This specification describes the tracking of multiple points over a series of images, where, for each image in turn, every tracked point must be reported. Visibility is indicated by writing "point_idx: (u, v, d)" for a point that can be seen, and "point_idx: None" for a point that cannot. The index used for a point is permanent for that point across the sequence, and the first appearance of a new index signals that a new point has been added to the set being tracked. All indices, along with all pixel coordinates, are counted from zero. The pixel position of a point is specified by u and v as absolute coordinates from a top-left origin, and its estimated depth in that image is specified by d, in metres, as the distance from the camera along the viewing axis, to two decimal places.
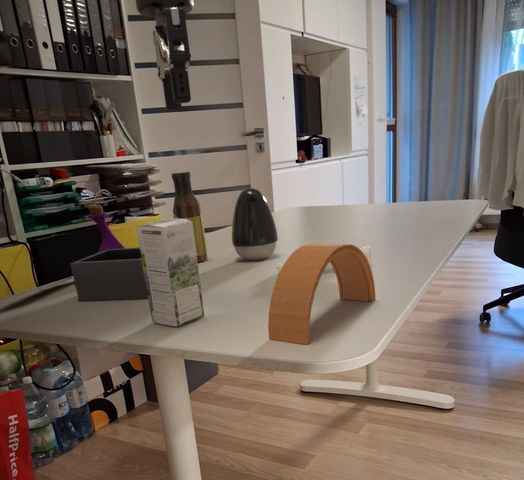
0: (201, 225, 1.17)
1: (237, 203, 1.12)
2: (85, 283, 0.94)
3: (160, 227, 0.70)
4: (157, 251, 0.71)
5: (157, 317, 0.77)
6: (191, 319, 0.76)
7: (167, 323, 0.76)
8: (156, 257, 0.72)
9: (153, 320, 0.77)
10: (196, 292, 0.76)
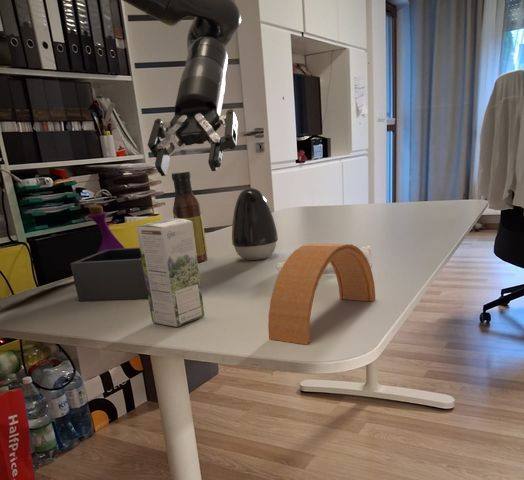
0: (201, 225, 1.17)
1: (237, 203, 1.12)
2: (85, 283, 0.94)
3: (160, 227, 0.70)
4: (157, 251, 0.71)
5: (157, 317, 0.77)
6: (191, 319, 0.76)
7: (167, 323, 0.76)
8: (156, 257, 0.72)
9: (153, 320, 0.77)
10: (196, 292, 0.76)
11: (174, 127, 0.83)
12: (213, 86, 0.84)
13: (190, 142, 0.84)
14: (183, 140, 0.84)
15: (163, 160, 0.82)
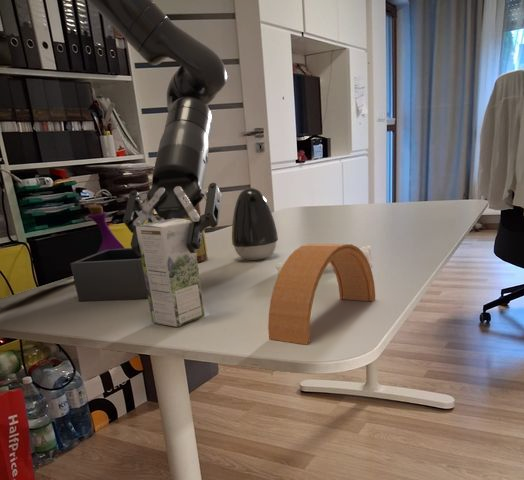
0: None
1: (237, 203, 1.12)
2: (85, 283, 0.94)
3: (160, 227, 0.70)
4: (157, 251, 0.71)
5: (157, 317, 0.77)
6: (191, 319, 0.76)
7: (167, 323, 0.76)
8: (155, 257, 0.72)
9: (153, 320, 0.77)
10: (196, 292, 0.76)
11: (151, 201, 0.75)
12: (194, 155, 0.76)
13: (169, 216, 0.76)
14: (161, 214, 0.76)
15: None
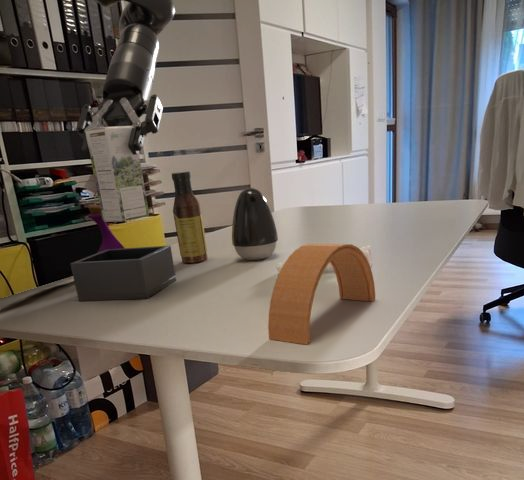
0: (201, 225, 1.17)
1: (237, 203, 1.12)
2: (85, 283, 0.94)
3: (104, 128, 0.80)
4: (103, 151, 0.82)
5: (106, 215, 0.87)
6: (136, 216, 0.87)
7: (114, 219, 0.86)
8: (102, 157, 0.82)
9: (103, 219, 0.88)
10: (140, 192, 0.86)
11: (100, 111, 0.85)
12: (139, 71, 0.86)
13: None
14: (109, 124, 0.86)
15: None
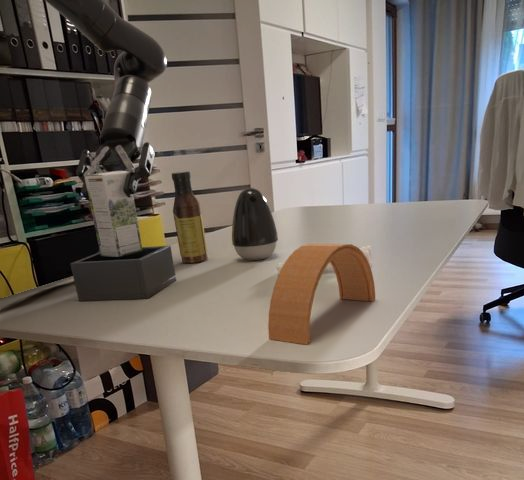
0: (201, 225, 1.17)
1: (237, 203, 1.12)
2: (85, 283, 0.94)
3: (101, 175, 0.89)
4: (100, 195, 0.91)
5: (103, 251, 0.96)
6: (130, 252, 0.96)
7: (111, 254, 0.95)
8: (100, 200, 0.91)
9: (101, 253, 0.97)
10: (134, 230, 0.95)
11: (98, 157, 0.94)
12: (133, 120, 0.95)
13: (113, 170, 0.95)
14: (106, 168, 0.95)
15: None
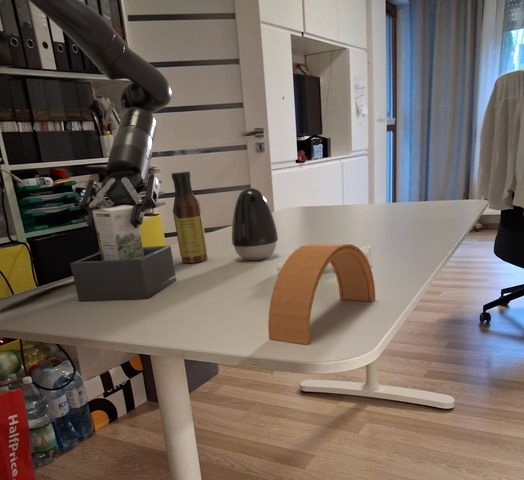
0: (201, 225, 1.17)
1: (237, 203, 1.12)
2: (85, 283, 0.94)
3: (109, 211, 0.91)
4: (108, 230, 0.93)
5: None
6: None
7: None
8: (107, 234, 0.94)
9: None
10: None
11: (104, 188, 0.96)
12: (138, 153, 0.97)
13: (118, 201, 0.97)
14: (112, 199, 0.97)
15: (93, 218, 0.95)
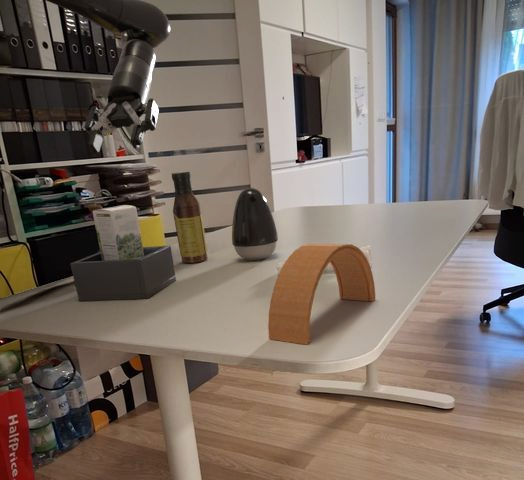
0: (201, 225, 1.17)
1: (237, 203, 1.12)
2: (85, 283, 0.94)
3: (109, 211, 0.91)
4: (108, 230, 0.93)
5: None
6: None
7: None
8: (107, 234, 0.94)
9: None
10: None
11: (105, 112, 1.01)
12: (138, 79, 1.02)
13: (119, 125, 1.02)
14: (113, 123, 1.02)
15: (95, 139, 1.00)
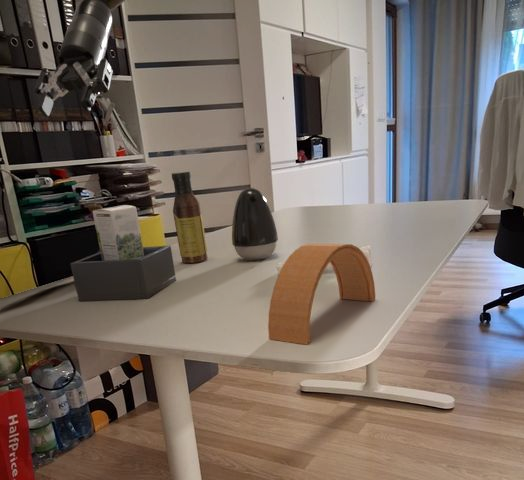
0: (201, 225, 1.17)
1: (237, 203, 1.12)
2: (85, 283, 0.94)
3: (109, 211, 0.91)
4: (108, 230, 0.93)
5: None
6: None
7: None
8: (107, 234, 0.94)
9: None
10: None
11: (56, 74, 0.95)
12: (91, 39, 0.96)
13: (71, 87, 0.96)
14: (64, 86, 0.96)
15: (45, 102, 0.94)
